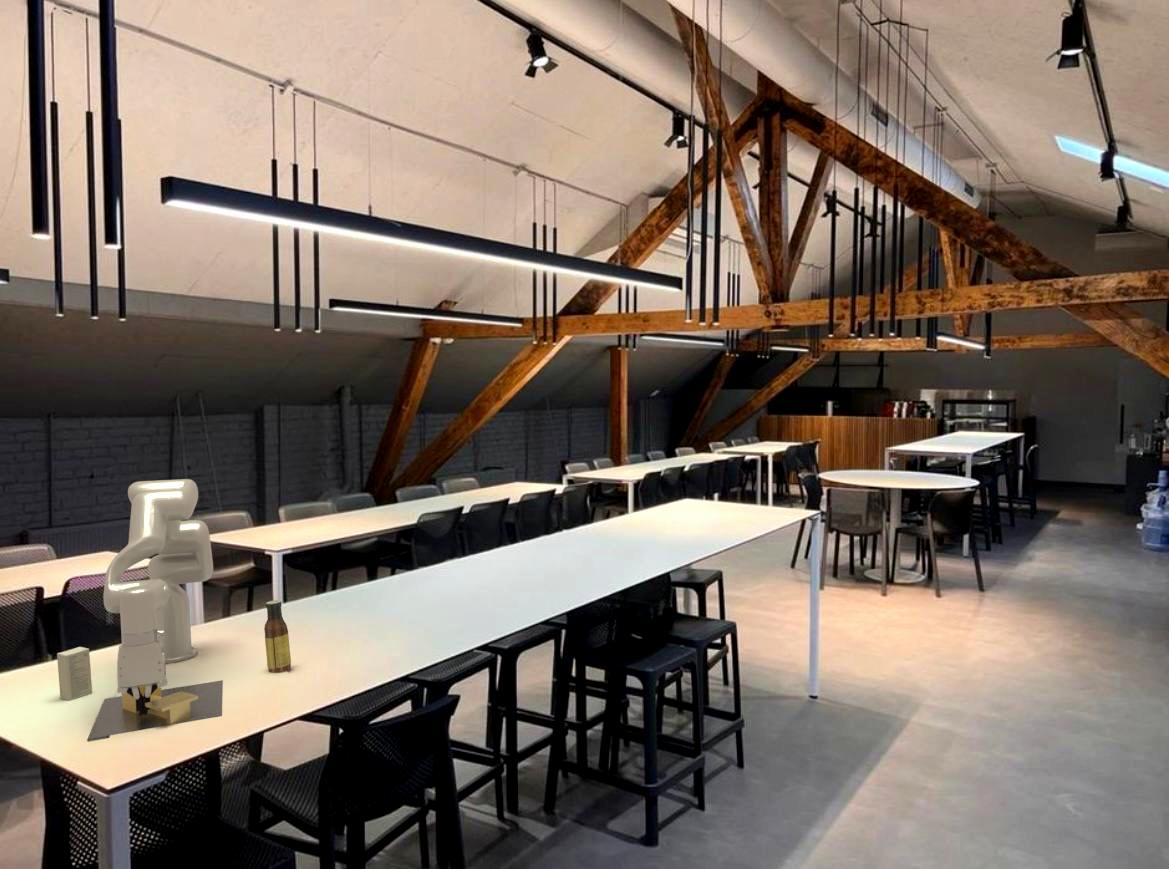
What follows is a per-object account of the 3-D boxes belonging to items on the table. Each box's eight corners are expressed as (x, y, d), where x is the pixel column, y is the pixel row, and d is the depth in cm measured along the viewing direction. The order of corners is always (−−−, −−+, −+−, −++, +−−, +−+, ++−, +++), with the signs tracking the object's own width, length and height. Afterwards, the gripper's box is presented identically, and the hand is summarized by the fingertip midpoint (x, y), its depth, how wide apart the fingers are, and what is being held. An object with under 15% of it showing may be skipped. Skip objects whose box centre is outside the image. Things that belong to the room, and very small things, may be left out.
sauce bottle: (294, 666, 232) (290, 598, 231) (287, 674, 226) (283, 603, 225) (271, 667, 232) (267, 599, 231) (263, 675, 225) (259, 604, 224)
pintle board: (104, 700, 210) (103, 678, 210) (222, 682, 221) (221, 661, 221) (86, 743, 183) (85, 718, 183) (222, 719, 194) (220, 696, 194)
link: (122, 708, 202) (121, 684, 202) (148, 700, 208) (146, 677, 207) (162, 722, 192) (161, 697, 192) (188, 713, 198) (186, 689, 197)
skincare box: (83, 690, 218) (80, 646, 217) (93, 693, 216) (90, 648, 215) (59, 698, 212) (56, 653, 212) (68, 701, 210) (65, 655, 210)
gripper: (175, 629, 202) (179, 702, 203) (106, 638, 196) (110, 713, 197) (173, 637, 195) (177, 712, 196) (101, 646, 189) (106, 724, 190)
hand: (143, 712), depth 196 cm, fingers closed
